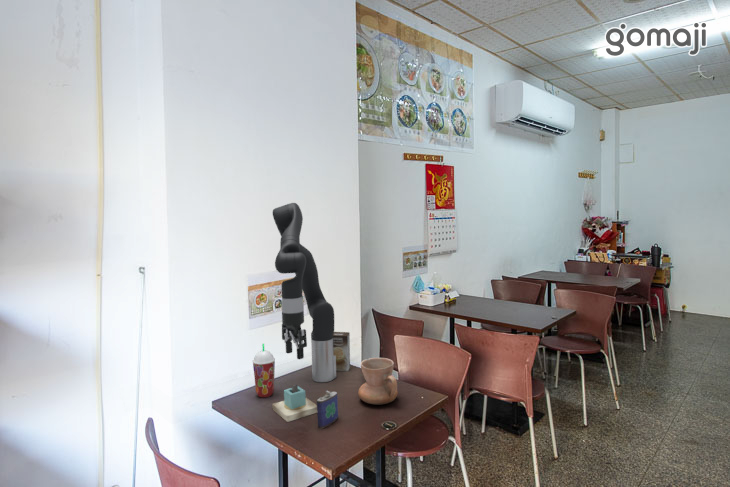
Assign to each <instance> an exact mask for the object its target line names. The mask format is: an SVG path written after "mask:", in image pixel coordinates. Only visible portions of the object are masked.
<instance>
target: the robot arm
mask: <svg viewBox="0 0 730 487" xmlns="http://www.w3.org/2000/svg"><path fill="white" fill-rule="evenodd" d="M272 217H273V220H274V222H275V225H276V228H277V231H278V233H279V234H280V249H279V251H278V252H277V255H276V258H275V261H274V267H275V269H276V272H278V273H280V274H283V275H284V274H295V276H294V277H292V278H290V279H286V280H283V281H282V282H281V322H282V323H281V339H282V341H284V344H285V354H286V353H287V354H292V353H293V343H294V344H295V346H296V359H297V360H302V359H304V358H305V356H304V353H305V352H304V348H307V346H308V342H307V341H308V340H307V330H306V329H305V328H304V329H302V326H301V325H303V324H304V323H305V314H304V313H305V311H304V310H305V308H304V305H305V304H304V300H303V295H304V298H305V302H306V305H307V310H308V314H309V317H310V318H312V330H311V333H310V336H311V337H310V338H311V339H310V342H311V370H312V371H311V377H312V381H313V382H316V383H327V382H328V383H329V382H331V381H332V380H334V379H336V378H337V371H336V356H335V355H334V347H333V333H334V332H335V310H334V309H335V308H334V306H332V304H331V303H329V302H328V301H327V300H326V298H325V296H324V294H323V291H322V290H321V289H322V288H321V286H320V281H319V280H320V279H319V271H318V267H317V264H316V261H315V259H314V258H315V257H313V253H312V252H311V251H310V250H309V249H308V248H306V247H305V246H304V245H302V244H301V242H300V237H301V233H302V232H301V231H302V226H303V219H304V218H303V213H302V209H301V208H300V206H299V205H298V203H296V202H291V203H287V204H285V205H281V206H278V207H275V208H274V209H273V210H272Z"/></svg>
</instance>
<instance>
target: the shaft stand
mask: <svg viewBox="0 0 730 487" xmlns="http://www.w3.org/2000/svg"><path fill="white" fill-rule="evenodd" d="M298 386H299V385H298V384H292V385H291V388H292V393H295V392H298ZM272 410H273V411H274V412H275V413H276V414H277V415H278V416H280V417H281V418H282V419H283V420H284V421H285V422H287V423H289V422H292V421H295V420H299V419H302V418H304V417H308V416H310V415H313V414H317V403H314V401H311V400H310V399H309V398H307V397H306V405H304V406H301V407H298V408H294V409H290V408H289V407H288V406H286V405H285V404H284V400H282V401H279V402H275V403H272Z"/></svg>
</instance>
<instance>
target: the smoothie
mask: <svg viewBox="0 0 730 487" xmlns="http://www.w3.org/2000/svg"><path fill="white" fill-rule="evenodd" d="M261 346H262V350H260V351H258V352H257V353H256V354H255V356H254V358H253V360H252V365H253V366H252V368H253V376H254V384H255V385H254V386H255V393H256V395H257V396H258V398H268V397H271V396H273V394H274V391H275V363H276V362H275V360H276V358H275V357H274V355H273V353H271V352H270V351H268V350H265V343H262V345H261Z"/></svg>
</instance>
